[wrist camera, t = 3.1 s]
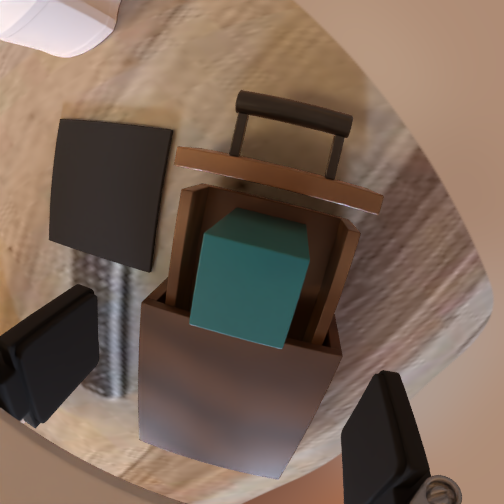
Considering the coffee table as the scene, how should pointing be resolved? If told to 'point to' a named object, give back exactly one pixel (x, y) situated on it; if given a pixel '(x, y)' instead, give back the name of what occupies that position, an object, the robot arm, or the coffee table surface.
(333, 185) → the drawer
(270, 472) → the cabinet
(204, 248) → the box
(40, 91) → the coffee table surface
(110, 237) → the mat
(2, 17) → the jar
